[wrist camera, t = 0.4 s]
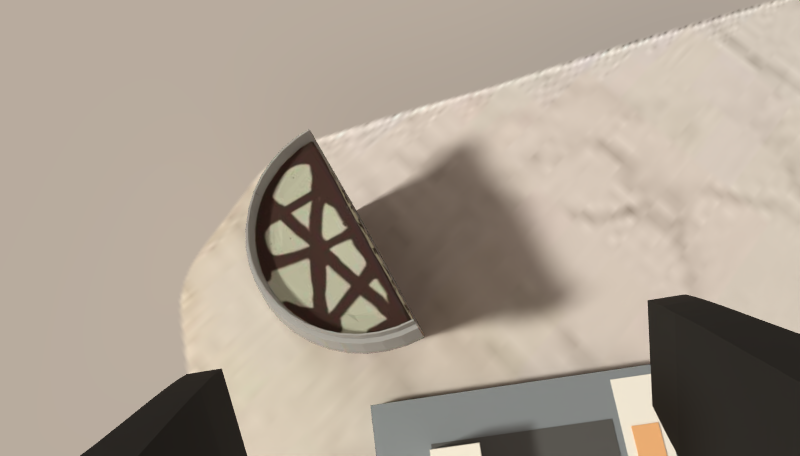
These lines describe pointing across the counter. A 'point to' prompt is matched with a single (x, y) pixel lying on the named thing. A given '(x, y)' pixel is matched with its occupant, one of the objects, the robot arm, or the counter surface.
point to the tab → (458, 450)
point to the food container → (322, 258)
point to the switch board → (532, 419)
